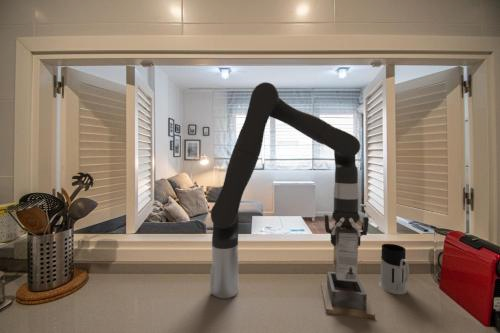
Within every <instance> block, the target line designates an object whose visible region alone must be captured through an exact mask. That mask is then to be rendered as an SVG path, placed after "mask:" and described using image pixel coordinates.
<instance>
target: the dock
mask: <svg viewBox="0 0 500 333" xmlns="http://www.w3.org/2000/svg"><path fill="white" fill-rule="evenodd" d="M326 279H327V280H326V282H320V288H321V293H322V297H323V298H322V299H323V304H324V310H325V314H333V315H334V314H335V315H339V316H340V315H342V316H349V317H356V318H358V317H359V318H365V319H366V318H367V319H373V320H374V319H376V314H375V312H374V310H373V308H372V305H371V304H370V301H369V300H368V297H367V293H366V291H365V288H364V287H363V285H362V282H361V280H360V278H359V276H358V275H357V282H353V281H343V280H337V278H336V274H335V271H334V272H333V271H327V272H326Z"/></svg>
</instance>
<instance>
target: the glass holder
mask: <svg viewBox="0 0 500 333" xmlns="http://www.w3.org/2000/svg"><path fill="white" fill-rule="evenodd" d="M406 253H407V252H406V248H405V247H404V246H401V245H398V244H393V243H384V244H382V245H381V256H380V281H379V283H378V285H379V287H380V288H381V289H382V290H383V291H385V292H388V293H390V294H395V295H405V294H407V292H408V290H407V288H406V283H407V282H408V280H409V278H410V277H409V276H410V264H409V262H408V260H407V259H406Z"/></svg>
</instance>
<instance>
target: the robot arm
mask: <svg viewBox="0 0 500 333" xmlns="http://www.w3.org/2000/svg"><path fill="white" fill-rule="evenodd" d="M270 118H273V119H276V120H278V121H280V122H282V123H283V124H286V125H287V126H290V127H291V128H293V129H295V130H296V131H298V132H299V133H301V134H303V135H305V136H307V137H308V138H310V139H311V140H313V141H315V142H316V143H319V144H321V145H324V146H326V147H328V148H329V149H331V150H333V155H334V165H335V168H334V187H333V211H332V213H331V214H330V213H329V214H327V213H324V214H323V220H324V230H325V232H326V233H327V234H330V244H332V246H333V247H334V246H336V235H335V234H336V229H337V228H340V227H349V228H351V227H353V229H355V230H357V231H358V247H361V237H362V236H367V235H368V228H369V222H370V221H369V220H370V218H369V217H368V216H367V215H366V214H365V215H360V214H359V179H358V177H359V170H358V167H357V165H356V155H357V154H358V153H359V152H360V150H361V143H360V141H359V139H358V138H357V137H356V136H355V135H353V134H351V133H349V132H347V131H344V130H342V129H340V128H337V127H334V126H333V125H331V124H330V123H328V122H326V121H325V120H324V119H321V118H320V117H318V116H316V115H313V114H312V113H309V112H306V111H302V110H301V109H297V108H295V107H293V106H291V105H290V104H288V103H287V102H285V101H284V100H283V99H282V98H280V96H279V92H278V89H277V88H276V86H275V85H274V84H272V83H271V82H267V81H264V82H260V83H259V84H258V85H256V86H255V87H254V88H253V90H252V92H251V96H250V100H249V104H248V109H247V112H246V116H245V118H244V122H243V124H242V126H241V129H240V131H239V133H238V137H237V139H236V142H235V144H234V146H233V149H232V152H231V154H230V158H229V160H228V165H227V168H226V172H225V176H224V181H223V184H222V188H221V190H220V192H219V195H218V197H217V199H216V201H215V203H214V205H213V206H212V208H211V211H210V219H211V222H212V236H211V259H212V260H211V262H212V264H211V266H210V268H209V270H210V271H209V273H210V274H209V276H210V279H209V280H210V281H209V282H210V283H209V284H210V285H209V286H210V287H209V288H210V289H209V290H210V291H209V292H210V295H212V296H214V297H215V298H218V299H222V300H224V299H225V300H227V299H231V298H233V297H235V296H237V295H238V293H239V208H240V206H241V202H242V197H243V195H244V192H245V189H246V188H247V185H248V183H249V181H250V179H251V178H252V175H253V174H254V170H255V169H256V166H257V163H258V160H259V157H260V154H261V151H262V147H263V141H264V135H265V130H266V126H267V124H268V120H269V119H270ZM332 219H333V220H334V223H333V226H332V227H331V228H330V221H331V220H332ZM359 220H360V222H361V229H360V230H359V228H358V225H357V222H358V221H359Z"/></svg>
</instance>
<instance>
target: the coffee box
mask: <svg viewBox="0 0 500 333" xmlns="http://www.w3.org/2000/svg"><path fill="white" fill-rule="evenodd" d="M335 235H336V246H333V270H334V272H335V274H336V278H337V280H343V281H353V282H357V276H358V258H359V257H358V254H359V251H358V250H359V246H358V231H357V230H355V229H353V227H351V228H349V227H340V228H337V229H336V234H335Z"/></svg>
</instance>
